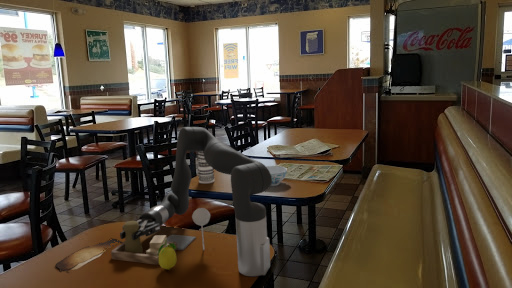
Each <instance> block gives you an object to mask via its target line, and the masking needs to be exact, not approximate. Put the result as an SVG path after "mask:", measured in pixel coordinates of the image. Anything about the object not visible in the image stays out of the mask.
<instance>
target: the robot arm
mask: <svg viewBox="0 0 512 288" xmlns="http://www.w3.org/2000/svg"><path fill="white" fill-rule="evenodd" d="M176 142H177V143H176V151H175V152H176V154H175V165H174V166H175V167H174V173H173V177H172V181H171V185H170V191H171V192H168V193H166V195H165V196H164V197H163V199H162V200H161V201H160V203H158V204H157V205H155V206H152V207H151V208H149V209H148V210H146V211H145V212H143V213H141V215H139V218H138V219H137V220H135V221H136V222H138V224H139V229H138V231H136V232H135V233H133V234H132V240H136V239H138V238H139V237H141V238H142V237H144V236H145V237H149V236H151V235H154V234H155V233H157V232H160V231H161V228H160V227H161V226H162V225H164V224H165V223H166V222H167V221H168V220H170V219H171V218H172V217H173V216H174V215H175V214H176V215H178V216H182V215H184V214H185V213H187V211H188V209H189V205H190V204H189V203H190V202H189V201H190V197H189V191H190V190H189V189H190V185H191V181H192V171H191V168H190V166H189V164H188V161H187V157H186V156H187V153H188V152H189V153H191V152H192V153H193V152H197V151H203V152H204V158H205V161H206V162H207V164H208V165H209V166H211V167H212V168H213V169H214V171H217V172H219V173H221V174H224V175H230V188H231V194H232V195H231V196H232V204H233V210H234V215H235V229H236V230H235V231H236V232H235V234H236V248H237V250H236V252H237V266H238V272H239V273H240V274H241V275H243V276H246V277H258V276H266V274H267V272H268V271H269V269H270V267H271V253H270V252H271V250H270V249H271V248H270V237H268V229H267V226H268V225H267V208H266V206H265V205H264V204H262V203H259V202H255V201H251V198H250V196H255V195H258V194H261V193H264V192H266V191H268V190H269V189H270V188H271V187H272V186H271V183H272V177H271V174H270V172H269V170H268V169H267V166H266V165H265V164H263V163H262V162H261V161H258V160H255V159H254V158H250V157H249V156H247V155H244V154H243V153H241V152H239V151H238V150H236V149H234V148H233V147H232V146H230V145H228V144H227V143H225V142H223V141H222V140H220V139H218V138H217V137H215V136H214V134H212V133H211V132H210V130H208V129H206V128H205V127H199V126H183V127H182V128H181V129H180V130H179V132H178V136H177V141H176ZM128 221H129V220H127V221H126V222H128ZM119 237H120V239H121V240H123V239H125V232H124V230H123V226H122V231H120V233H119Z"/></svg>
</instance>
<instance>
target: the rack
mask: <svg viewBox="0 0 512 288" xmlns="http://www.w3.org/2000/svg"><path fill="white" fill-rule="evenodd" d="M122 242H123V243H120V244H119V245H118V246H116V247H115V248H113V249H112V250H111V251H110V253H111V254H110V255H111V259H112V260H119V261H126V262H133V263H141V264H148V265H149V264H150V265H157V266H158V265H159V255H158V256H156V255H147V254H145V253H141V254H139V253H130V252H125V241H122ZM171 243H173V244H175V246H176V249H173V250H174V251H175V252H176V251H178V250H177V242H170V241H167V244H171Z"/></svg>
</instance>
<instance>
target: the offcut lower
mask: <svg viewBox="0 0 512 288" xmlns="http://www.w3.org/2000/svg"><path fill="white" fill-rule="evenodd" d="M167 245H169V244H167ZM165 247H166V246H165ZM167 247H168V246H167ZM145 253H146V254H147V255H156V256H158V255H159V254H158V251H150V248H148V249H147V250H145ZM159 253H160V252H159Z"/></svg>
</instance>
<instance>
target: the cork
mask: <svg viewBox="0 0 512 288" xmlns="http://www.w3.org/2000/svg"><path fill="white" fill-rule="evenodd" d="M127 221H128V222H127ZM127 221H125V222H124V223H123V225H122V227H123V228H122V231H123V230H124V232H125V238H124V239H125V240H124V242H125V251H124V252H130V253H139V254H143V252H144V250H143V245H142V242H141V238H140V237H139V238H138V239H136V240H132V234H133V233H135V232H136V231H138V229H139V224H138V222H136V221H137V220H127Z"/></svg>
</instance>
